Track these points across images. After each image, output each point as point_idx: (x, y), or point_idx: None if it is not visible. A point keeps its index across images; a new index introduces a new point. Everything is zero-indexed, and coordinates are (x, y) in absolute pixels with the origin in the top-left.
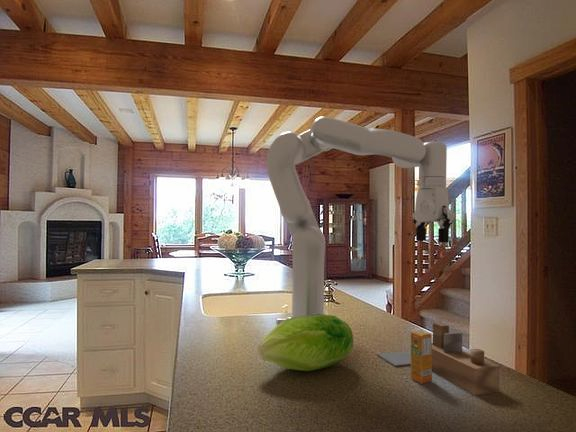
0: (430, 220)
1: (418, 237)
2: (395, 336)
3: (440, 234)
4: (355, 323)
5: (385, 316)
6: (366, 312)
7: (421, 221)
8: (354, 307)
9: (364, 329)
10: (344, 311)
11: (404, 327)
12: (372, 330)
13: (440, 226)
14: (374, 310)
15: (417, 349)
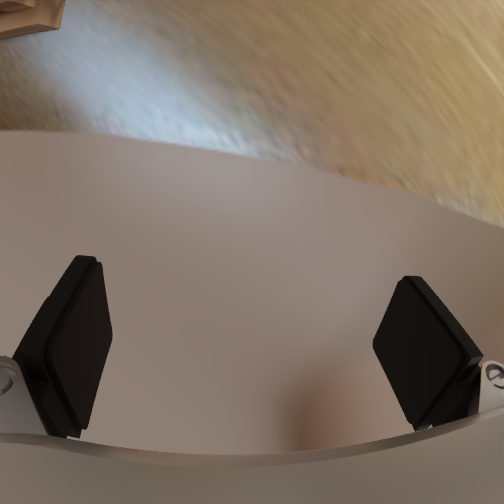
0: (95, 453)
1: (411, 297)
2: (255, 45)
3: (50, 308)
4: (398, 48)
5: (413, 173)
6: (458, 161)
7: (436, 427)
8: (494, 174)
9: (343, 23)
10: (485, 121)
11: (313, 131)
12: (327, 33)
13: (15, 383)
14: (459, 195)
15: None
